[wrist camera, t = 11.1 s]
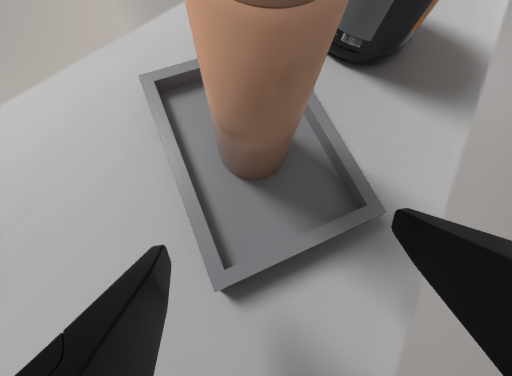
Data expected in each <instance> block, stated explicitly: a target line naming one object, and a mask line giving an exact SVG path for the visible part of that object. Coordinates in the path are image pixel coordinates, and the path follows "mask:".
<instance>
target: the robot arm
mask: <svg viewBox="0 0 512 376" xmlns="http://www.w3.org/2000/svg"><path fill="white" fill-rule="evenodd" d="M391 227H392V231H393V233H394V235H395V236H396V238H397V239H398V241H399V242H400V244H401V245H402V247H403V248H404V250H405V251H406V253H407V254H408V256H409V257H410V259H411V260H412V262H413V263H414V265H415V266H416V267H417V269H418V270H419V271H420V272H421V274H422V275H423V276H424V277H425V279H426V280H427V281H428V282H429V284H430V285H431V286H432V287H433V289H434V290H435V291H436V292H437V293H438V295H439V296H440V297H441V298H442V300H443V301H444V302H445V304H446V305H447V306H448V307H449V309H450V310H451V311H452V312H453V314H454V315H455V316H456V317H457V318H458V320H459V321H460V322H461V323H462V325H463V326H464V327H465V328H466V330H467V331H468V332H469V333H470V335H471V336H472V337H473V338H474V340H475V341H476V342H477V343H478V345H479V346H480V347H481V348H482V350H483V351H484V352H485V353H486V355H487V356H488V357H489V358H490V360H491V361H492V362H493V363H494V365H495V366H496V367H497V368H498V370H499V371H500V372H501V373H502V375H503V376H512V241H511V240H507V239H504V238H501V237H498V236H495V235H492V234H489V233H485V232H482V231H479V230H475V229H472V228H469V227H466V226H463V225H460V224H457V223H453V222H450V221H447V220H444V219H441V218H438V217H434V216H431V215H428V214H425V213H422V212H419V211H415V210H412V209H409V208H403V209H398V210H396V211H395V214H394V218H393V222H392V226H391ZM170 276H171V261H170V258H169V255H168V252H167V249H166V247H165V245H158V246H153V247H151V248H150V249H149V250H148V251H147V252H146V253H145V254H144V255H143V256H142V257H141V258H140V259H139V260H138V261H136V262H135V263H134V264H133V265H132V266H131V267H130V268H129V269H128V270H127V271H126V272H125V273H124V274H123V275H122V276H121V277H120V278H119V279H117V280H116V281H115V282H114V283H113V284H112V285H111V286H110V287H109V288H108V289H107V290H106V291H105V292H104V293H103V294H102V295H101V296H100V297H98V298H97V299H96V300H95V301H94V302H93V303H92V304H91V305H90V306H89V307H88V308H87V309H86V310H85V311H84V312H83V313H82V314H81V315H79V316H78V317H77V318H76V319H75V320H74V321H73V322H72V323H71V324H70V325H69V326H68V327H67V328H66V329H65V330H64V331H63V333H60V334H59V335H58V336H57V337H56V338H55V339H54V340H53V341H52V342H51V343H50V344H49V345H48V346H47V347H45V348H44V349H43V350H42V351H41V352H40V353H39V354H38V355H37V356H36V357H35V358H34V359H32V360H31V361H30V362H29V363H28V364H27V365H26V366H25V367H24V368H23V369H21V370H20V371H19V372H18V373H17V374H16V375H15V376H153V375H154V370H155V366H156V361H157V356H158V351H159V347H160V342H161V337H162V332H163V327H164V323H165V318H166V313H167V307H168V297H169V287H170Z"/></svg>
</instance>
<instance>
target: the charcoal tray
mask: <svg viewBox="0 0 512 376" xmlns="http://www.w3.org/2000/svg"><path fill="white" fill-rule="evenodd" d="M138 76H139V79H140V82H141V84H142V87H143V90H144V93H145V96H146V99H147V101H148V104H149V107H150V110H151V113H152V116H153V118H154V121H155V124H156V127H157V130H158V133H159V135H160V138H161V141H162V144H163V147H164V150H165V152H166V155H167V158H168V161H169V164H170V167H171V169H172V172H173V175H174V178H175V181H176V184H177V186H178V189H179V192H180V195H181V198H182V201H183V203H184V206H185V209H186V212H187V215H188V218H189V220H190V223H191V226H192V229H193V232H194V235H195V237H196V240H197V243H198V246H199V249H200V252H201V254H202V257H203V260H204V263H205V266H206V269H207V271H208V274H209V277H210V280H211V283H212V286H213V288H214V291H215V292H217V291H219V290H221V289H224V288H226V287H228V286H230V285H232V284H234V283H236V282H239V281H241V280H243V279H245V278H247V277H249V276H251V275H253V274H256V273H258V272H260V271H262V270H264V269H266V268H268V267H271V266H273V265H275V264H277V263H279V262H281V261H283V260H285V259H288V258H290V257H292V256H294V255H296V254H298V253H300V252H303V251H305V250H307V249H309V248H311V247H313V246H315V245H317V244H320V243H322V242H324V241H326V240H328V239H330V238H332V237H335V236H337V235H339V234H341V233H343V232H345V231H347V230H350V229H352V228H354V227H356V226H358V225H360V224H362V223H364V222H367V221H369V220H371V219H373V218H375V217H377V216H379V215H382V214H384V213H386V211H385V210H384V208H383V206H382V205H381V203H380V201H379V200H378V198H377V196H376V195H375V193H374V191H373V190H372V188H371V186H370V185H369V183H368V181H367V180H366V178H365V176H364V175H363V173H362V171H361V170H360V168H359V167H358V165H357V163H356V162H355V160H354V158H353V157H352V155H351V153H350V152H349V150H348V148H347V147H346V145H345V143H344V142H343V140H342V138H341V137H340V135H339V133H338V132H337V130H336V128H335V127H334V125H333V124H332V122H331V120H330V119H329V117H328V115H327V114H326V112H325V110H324V109H323V107H322V105H321V104H320V102H319V100H318V99H317V97H316V95H315V94H314V92H313V90H312V93H311V95H310V98H309V100H308V103H307V105H306V108H305V110H304V113H303V115H302V118H301V120H300V122H299V125H298V127H297V130H296V132H295V135H294V137H293V140H292V142H291V145H290V147H289V150H288V152H287V155H286V157H285V160H284V162H283V164H282V166H281V167H280V168H279V169H278V170H277V171H276V172H275V173H274V174H272V175H271V176H269V177H266V178H264V179H259V180H247V179H243V178H240V177H237V176H236V175H234V174H232V173H231V172H230V171H229V170H227V169H226V167H225V166H224V165H223V163H222V161H221V159H220V155H219V151H218V147H217V142H216V138H215V133H214V129H213V124H212V120H211V116H210V111H209V107H208V102H207V98H206V93H205V89H204V84H203V80H202V76H201V71H200V67H199V62H198V59H195V60H191V61H188V62H184V63H181V64H177V65H174V66H170V67H166V68H163V69H159V70H156V71H152V72H149V73H145V74H142V75H138Z"/></svg>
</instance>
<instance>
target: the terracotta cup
mask: <svg viewBox="0 0 512 376" xmlns="http://www.w3.org/2000/svg"><path fill="white" fill-rule="evenodd" d="M348 1H349V0H185V4H186V9H187V13H188V18H189V22H190V27H191V31H192V36H193V40H194V44H195V49H196V53H197V58H198V62H199V67H200V71H201V76H202V80H203V84H204V89H205V93H206V98H207V102H208V107H209V111H210V116H211V120H212V124H213V129H214V133H215V138H216V142H217V147H218V151H219V155H220V159H221V161H222V163H223V165H224V166H225V167H226V169H227V170H229V171H230V172H231V173H232V174H234V175H236V176H237V177H240V178H243V179H247V180H259V179H264V178H266V177H269V176H271V175H272V174H274V173H275V172H276V171H277V170H278V169H279V168H280V167H281V166H282V164H283V162H284V160H285V157H286V155H287V152H288V150H289V147H290V145H291V142H292V140H293V137H294V135H295V132H296V130H297V127H298V125H299V122H300V120H301V118H302V115H303V113H304V110H305V108H306V105H307V103H308V100H309V98H310V95H311V93H312V90H313V88H314V85H315V83H316V80H317V78H318V75H319V73H320V71H321V68H322V66H323V63H324V61H325V58H326V56H327V53H328V51H329V48H330V46H331V43H332V41H333V38H334V36H335V33H336V31H337V28H338V26H339V23H340V21H341V19H342V16H343V14H344V11H345V9H346V6H347V4H348Z"/></svg>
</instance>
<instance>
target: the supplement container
mask: <svg viewBox="0 0 512 376" xmlns="http://www.w3.org/2000/svg"><path fill="white" fill-rule="evenodd" d="M438 1H439V0H349V1H348V4H347V6H346V9H345V11H344V14H343V16H342V19H341V21H340V23H339V26H338V28H337V31H336V33H335V36H334V38H333V41H332V43H331V46H330V48H329V52H331V53H332V54H334V55H335V56H337V57H339V58H341V59H344V60H347V61H350V62H354V63H361V64H372V63H378V62H382V61H385V60H388V59H390V58H392V57H393V56H395V55H397V54H398V53H399V52H400V51H401V50H402V49H403V48H404V47H405V46H406V45H407V44H408V42H409V41H410V39H411V37H412V35H413V34H414V33H415V31H416V30H417V29H418V27H419V26H420V25H421V23H422V22H423V21H424V19H425V18H426V17H427V15H428V14H429V13H430V11H431V10H432V9H433V7H434V6H435V5H436V3H437V2H438Z"/></svg>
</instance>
